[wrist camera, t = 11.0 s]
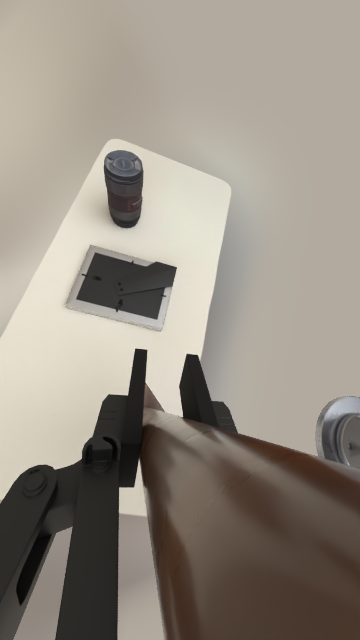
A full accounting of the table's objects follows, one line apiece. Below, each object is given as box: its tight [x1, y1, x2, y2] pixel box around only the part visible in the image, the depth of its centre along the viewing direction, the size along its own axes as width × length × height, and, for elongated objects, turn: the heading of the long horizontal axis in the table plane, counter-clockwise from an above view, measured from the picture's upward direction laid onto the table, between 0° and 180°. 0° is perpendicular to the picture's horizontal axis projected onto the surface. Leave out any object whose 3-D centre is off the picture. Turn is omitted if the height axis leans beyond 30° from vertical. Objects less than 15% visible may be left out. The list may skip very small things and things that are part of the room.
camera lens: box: [104, 150, 143, 228], centre depth 53 cm, size 8×8×15 cm
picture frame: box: [65, 245, 177, 331], centre depth 52 cm, size 16×3×21 cm
